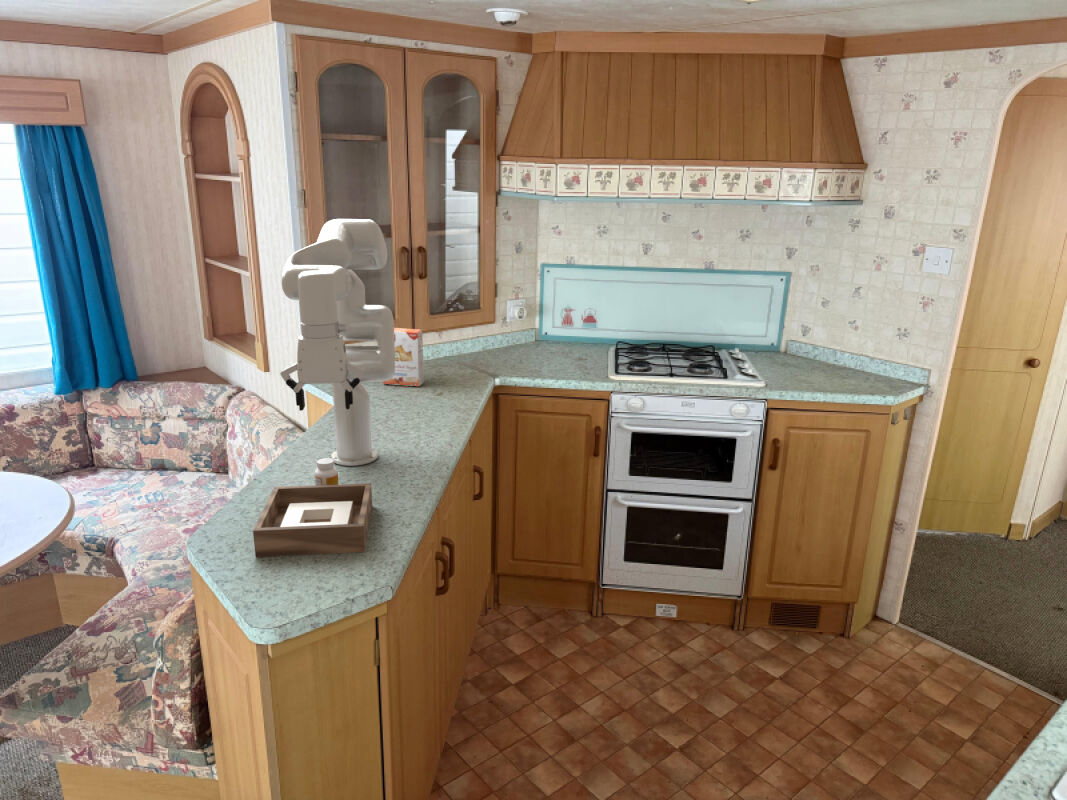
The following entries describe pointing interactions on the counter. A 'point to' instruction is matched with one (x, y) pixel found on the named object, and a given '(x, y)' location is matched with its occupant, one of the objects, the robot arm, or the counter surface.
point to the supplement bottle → (326, 472)
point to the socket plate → (318, 513)
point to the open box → (317, 537)
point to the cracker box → (408, 357)
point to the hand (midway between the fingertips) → (325, 408)
